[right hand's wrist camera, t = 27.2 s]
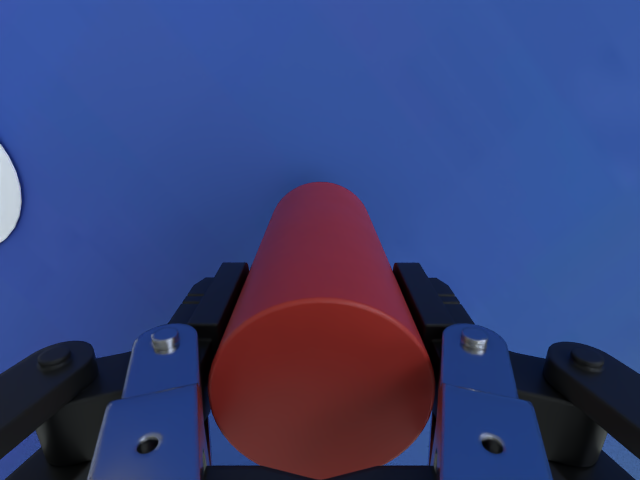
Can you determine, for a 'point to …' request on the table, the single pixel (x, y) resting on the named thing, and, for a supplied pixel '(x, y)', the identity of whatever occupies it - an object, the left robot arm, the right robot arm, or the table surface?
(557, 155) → the table surface
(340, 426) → the cylinder
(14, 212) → the female figurine
